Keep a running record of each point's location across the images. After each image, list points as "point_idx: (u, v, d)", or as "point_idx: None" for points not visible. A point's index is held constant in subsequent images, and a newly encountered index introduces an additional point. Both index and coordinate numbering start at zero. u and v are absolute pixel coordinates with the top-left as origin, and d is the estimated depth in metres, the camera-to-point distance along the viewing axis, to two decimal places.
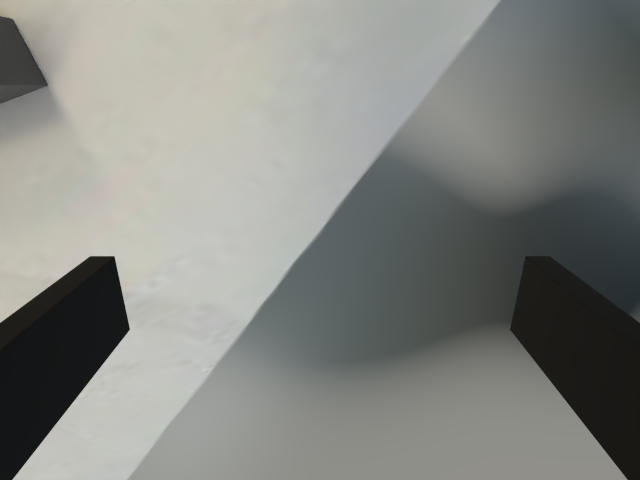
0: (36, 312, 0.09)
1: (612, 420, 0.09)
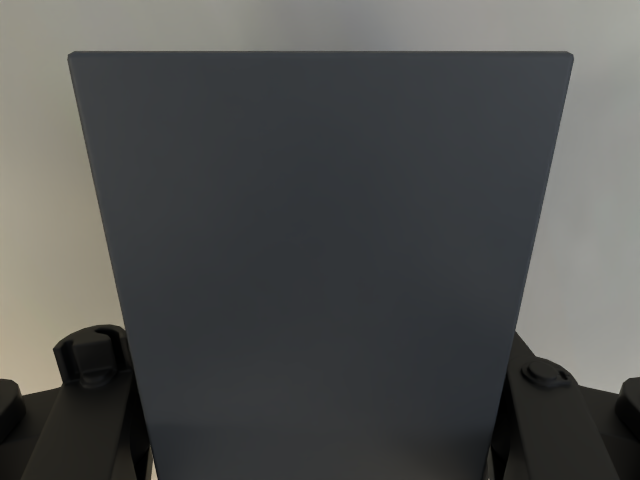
0: None
1: None
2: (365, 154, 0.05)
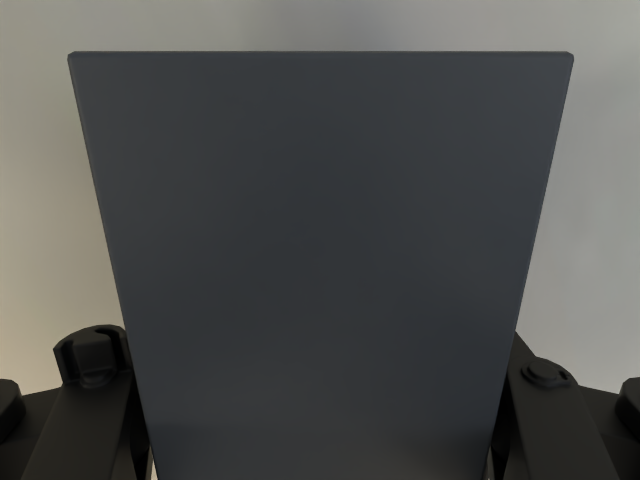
0: None
1: None
2: (365, 154, 0.05)
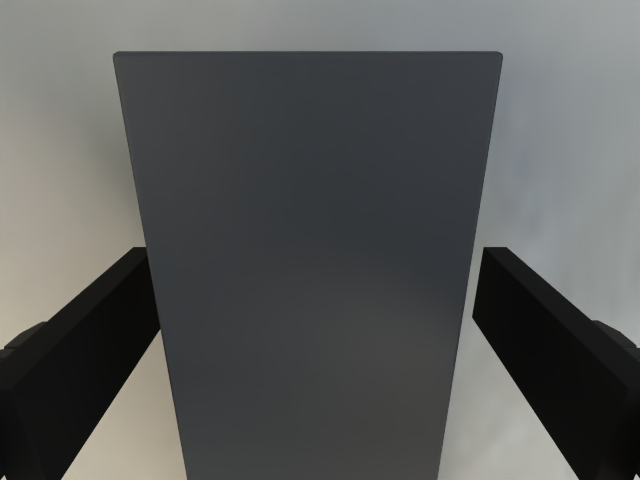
0: (96, 296, 0.10)
1: (547, 394, 0.09)
2: (343, 132, 0.06)
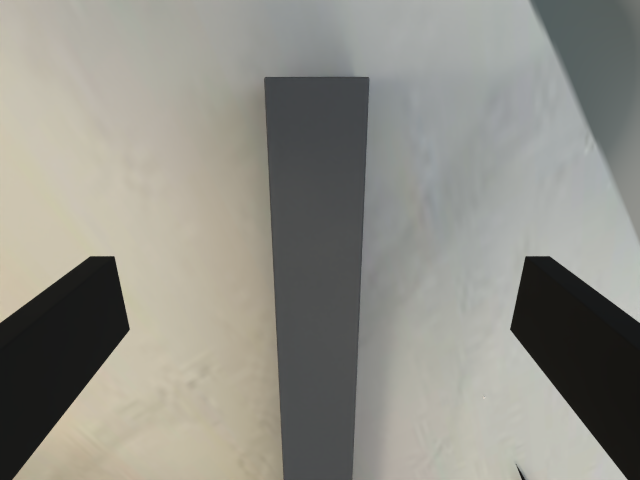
0: (36, 312, 0.09)
1: (611, 420, 0.09)
2: (326, 99, 0.22)
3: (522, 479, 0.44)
